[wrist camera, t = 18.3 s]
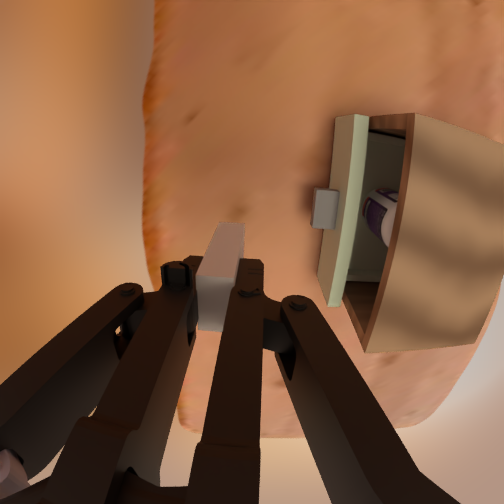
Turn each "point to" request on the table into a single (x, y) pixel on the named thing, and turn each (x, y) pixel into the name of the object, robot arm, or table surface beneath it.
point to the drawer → (353, 205)
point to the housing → (435, 241)
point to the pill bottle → (380, 212)
